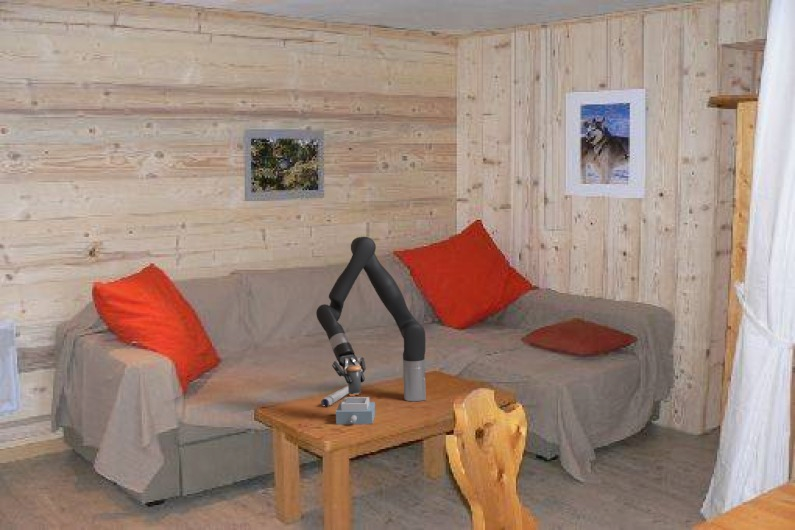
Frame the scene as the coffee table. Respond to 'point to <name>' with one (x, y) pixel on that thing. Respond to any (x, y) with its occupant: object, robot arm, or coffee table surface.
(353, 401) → the blue knob tray
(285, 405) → the coffee table surface
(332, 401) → the grey flanged rod
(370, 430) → the coffee table surface
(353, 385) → the dark grey lidded jar
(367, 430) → the coffee table surface
